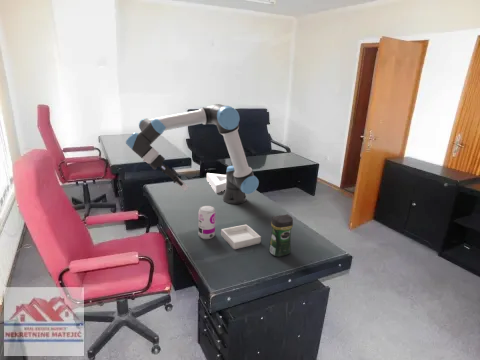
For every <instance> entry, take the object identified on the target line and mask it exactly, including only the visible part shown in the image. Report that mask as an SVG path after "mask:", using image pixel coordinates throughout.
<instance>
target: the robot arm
mask: <svg viewBox="0 0 480 360" xmlns="http://www.w3.org/2000/svg"><path fill="white" fill-rule="evenodd" d="M240 119H241V118H240V114H239V112H238V110H237V109H236V108H234V107H232V106H230V105H225V104H220V103H219V104H218V103H215V104H212V105H207V106H203V107H200V108H199V109H196V110H192V111H191V110H190V111H186V112H180V113H175V114H170V115H163V116H160V117H153V118H143V119H141V120H140V121H139V123H138V129H139V130H140V132H139V133H138V132H136V131H134V132H133V133H132V134H131V135H130V136H129V137H128V138H127V139H126V141H125V144H126V146H128V147H129V148H130V149H131V150H132V151H133V152H134V153H135V154H136V155H137V156H139V157H140V158H141V159H142V161H143V162H146V163H147V164H149V166H150V167H151V168H152V170H157V169H158V168H159V169H160V171H161V172H162V173H163V174H164V175H166V176H168V177H169V178H170V179H172V181H173V182H172V183H173V184H176V185H177V186H179V187H180V188H181V189H182V190H184V192H186V191H187V190H188V189H189V186H188V185H187V184H186V183H185V181H183V180H182V179H181V178H180V177H178V174H177V173H174V172H173V171H172V169H171V168H170V167H169V166H168V165H167V164H166V163H165V164H164V163H163V162H165V160H166V159H165V157H164V156H163V155H161V154H159V151H158V150H156V149H155V148H154V147H153V146H152V144H153V143H154V142H155V141H156V140H157V139H158V138H159V137H160V136H161V135H163V133H164V132H165V131H169V130H173V129H175V130H176V129H180V128H185V127H190V126H195V125H200V124H202V125H203V126H204V125H205V126H206V125H215V126H216V128H217V130H218V133H219V134H220V135H222V136H223V140H224V143H225V146H226V149H227V152H228V154H229V157H230V161H231V164H232V165H229V166H227V167H226V173H225V175H226V190H225V191H223V192H224V193H223V196H222V200H223V202H225V203H228V204H233V205H239V204H244V203H245V202H246V201H247V195H250V194H253V193H254V192H255V191H256V190H257V189H258V187H259V183H260V181H259V179H258V177H257V176H256V175H254V171H253V169H252V167H251V166H249V164H248V161H247V157H246V153H245V149H244V147H243V144H242V140H241V138H240V134H239V131H238V130H239V128H240V125H239V122H240Z"/></svg>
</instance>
